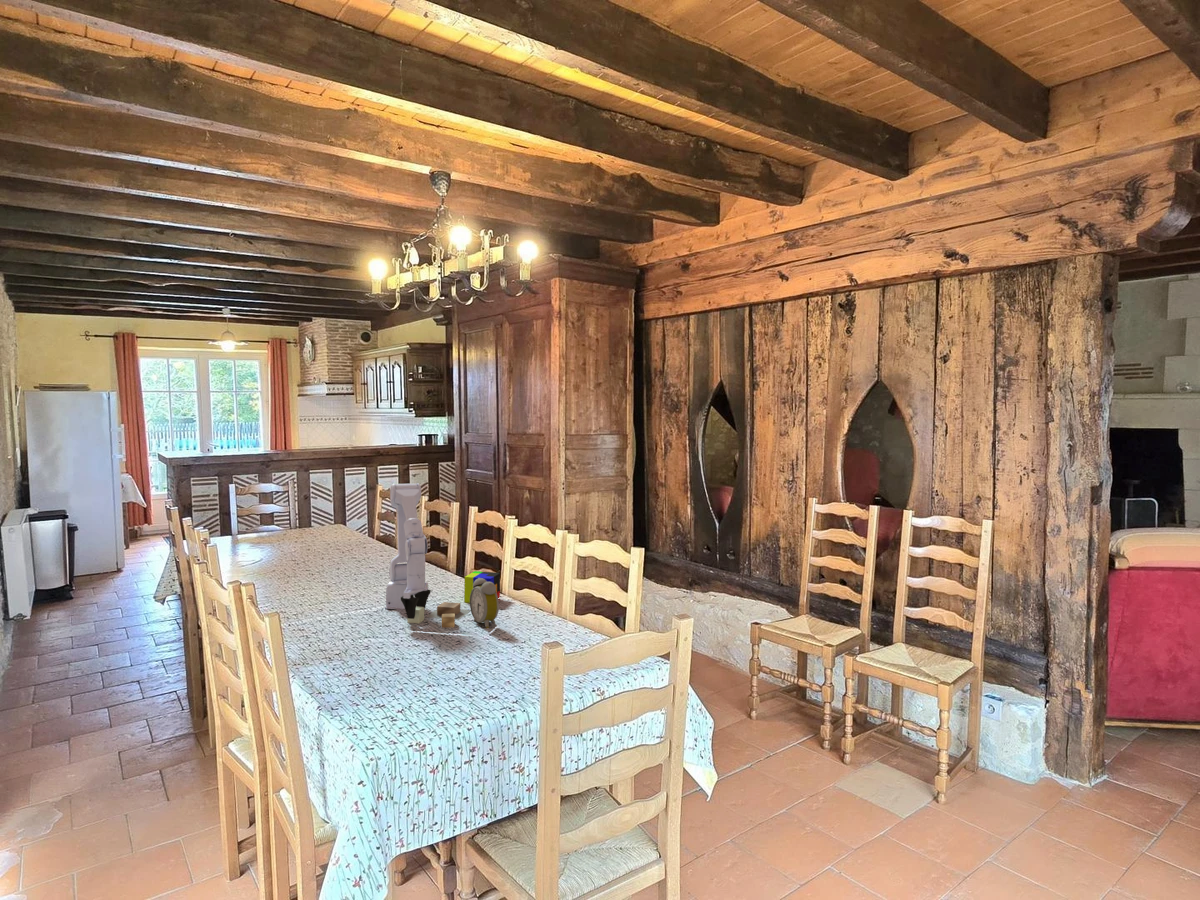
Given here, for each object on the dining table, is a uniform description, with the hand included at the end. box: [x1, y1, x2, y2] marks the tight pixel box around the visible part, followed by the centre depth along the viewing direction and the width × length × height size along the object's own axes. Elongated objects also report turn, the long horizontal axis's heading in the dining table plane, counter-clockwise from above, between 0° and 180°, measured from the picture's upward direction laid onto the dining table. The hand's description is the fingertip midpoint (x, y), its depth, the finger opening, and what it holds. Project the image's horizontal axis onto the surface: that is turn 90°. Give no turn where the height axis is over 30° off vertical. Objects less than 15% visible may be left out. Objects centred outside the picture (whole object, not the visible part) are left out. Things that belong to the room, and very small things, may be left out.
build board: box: [425, 608, 471, 621], centre depth 241 cm, size 12×12×1 cm
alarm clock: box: [469, 578, 500, 629], centre depth 231 cm, size 12×7×15 cm, turn 35°
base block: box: [436, 601, 461, 616], centre depth 241 cm, size 6×6×3 cm
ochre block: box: [441, 614, 456, 629], centre depth 228 cm, size 4×4×4 cm
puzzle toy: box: [463, 570, 501, 604], centre depth 260 cm, size 10×10×10 cm
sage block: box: [406, 606, 425, 624], centre depth 232 cm, size 4×4×5 cm
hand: (415, 615), depth 232 cm, fingers open, 7 cm apart
